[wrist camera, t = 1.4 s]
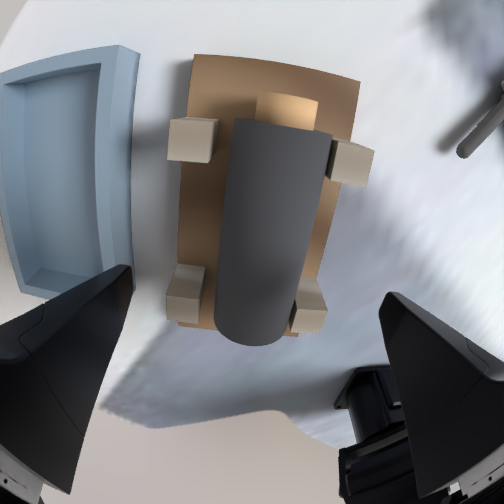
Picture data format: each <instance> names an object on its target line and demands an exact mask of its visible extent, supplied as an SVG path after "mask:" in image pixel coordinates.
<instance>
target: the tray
mask: <svg viewBox="0 0 504 504" xmlns="http://www.w3.org/2000/svg"><path fill="white" fill-rule="evenodd" d="M139 59H140V53H137V52H135V51H133V50H131V49H128V48H126V47H124V46H121V45H113V46H106V47H99V48H92V49H87V50H81V51H76V52H71V53H66V54H62V55H58V56H54V57H50V58H46V59H42V60H39V61H35V62H32V63H28V64H25V65H22V66H19V67H16V68H13V69H10V70H7V71H5V72H2V73H0V212H1V217H2V223H3V228H4V233H5V237H6V242H7V246H8V250H9V254H10V258H11V262H12V265H13V269H14V272H15V276H16V279H17V282H18V285H19V288H20V291H21V292H22V293H26V294H30V295H33V296H37V297H41V298H45V299H49V300H51V299H52V298H54V297H56V296H58V295H60V294H62V293H64V292H65V291H67V290H69V289H71V288H73V287H75V286H77V285H79V284H81V283H83V282H85V281H87V280H89V279H90V278H92V277H94V276H96V275H98V274H100V273H102V272H104V271H106V270H108V269H110V268H112V267H114V266H116V265H118V264H125V265H130V266H131V268H132V274H133V284H134V290H133V293H134V291H135V289H136V285H135V275H134V263H133V250H132V232H131V202H130V170H131V140H132V123H133V110H134V100H135V90H136V81H137V73H138V66H139Z"/></svg>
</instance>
